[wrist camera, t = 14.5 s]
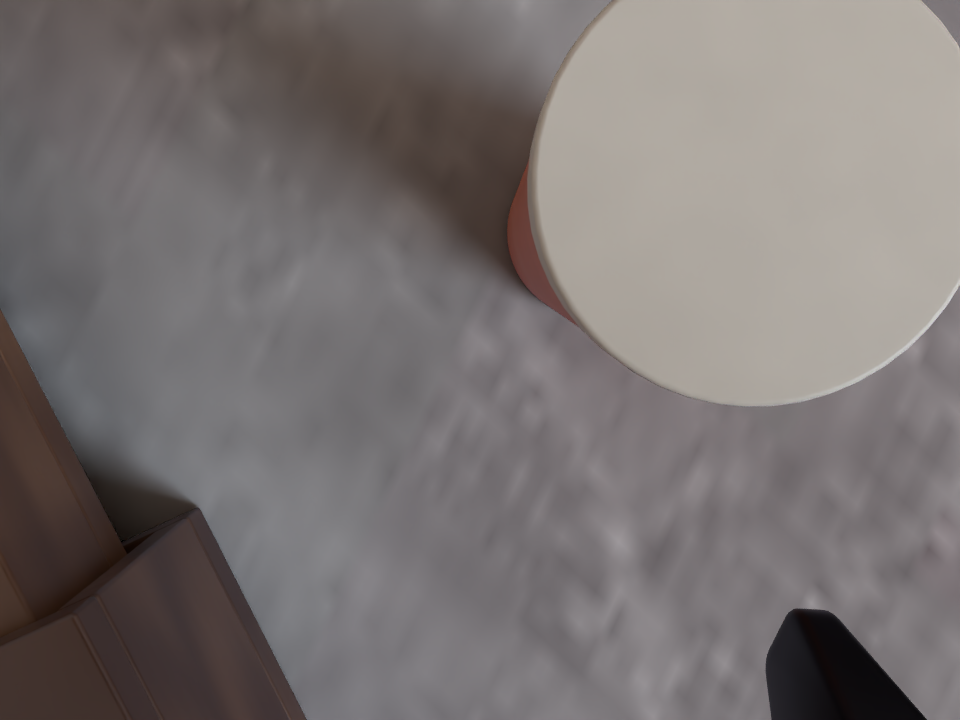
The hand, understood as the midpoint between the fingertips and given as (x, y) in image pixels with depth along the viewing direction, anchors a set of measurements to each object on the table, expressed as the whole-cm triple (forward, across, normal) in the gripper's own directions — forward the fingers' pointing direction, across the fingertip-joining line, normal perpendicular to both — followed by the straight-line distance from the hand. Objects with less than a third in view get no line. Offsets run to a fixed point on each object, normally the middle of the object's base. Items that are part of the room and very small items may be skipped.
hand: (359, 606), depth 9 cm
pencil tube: (+11, -4, +2) cm, 12 cm away
